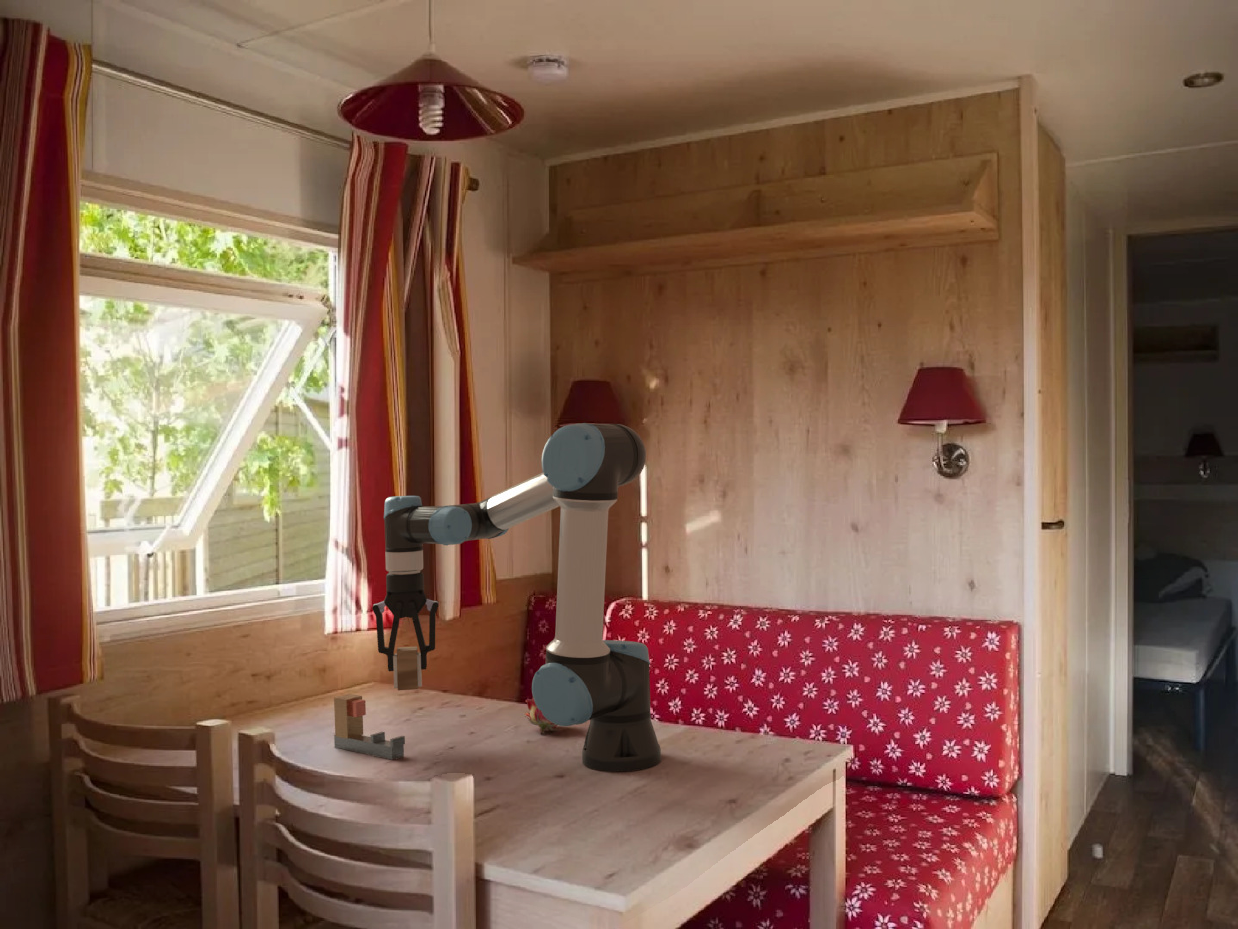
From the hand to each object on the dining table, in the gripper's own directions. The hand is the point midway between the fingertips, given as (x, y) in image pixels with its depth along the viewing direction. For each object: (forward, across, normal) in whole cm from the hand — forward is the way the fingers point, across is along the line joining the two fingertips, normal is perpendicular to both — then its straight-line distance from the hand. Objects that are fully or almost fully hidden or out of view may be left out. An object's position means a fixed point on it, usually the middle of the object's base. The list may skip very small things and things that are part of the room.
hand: (408, 686), depth 226 cm
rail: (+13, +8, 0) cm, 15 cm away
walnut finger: (0, 0, 0) cm, 0 cm away
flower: (+13, -28, -7) cm, 32 cm away
